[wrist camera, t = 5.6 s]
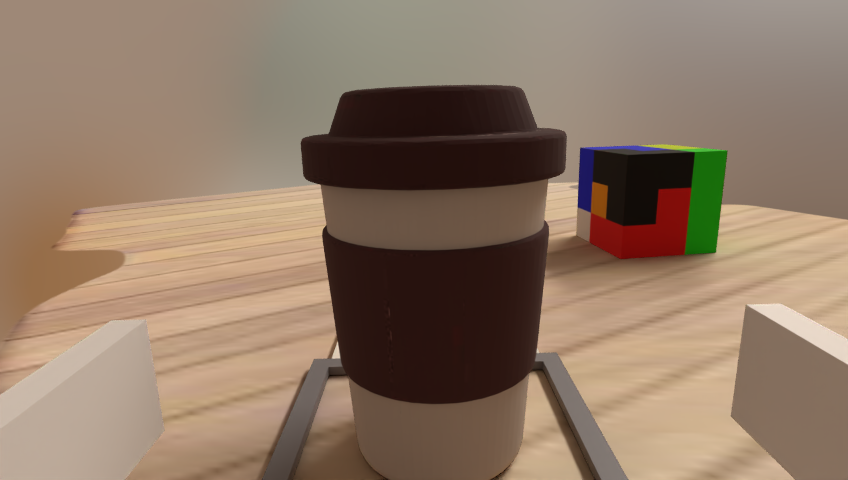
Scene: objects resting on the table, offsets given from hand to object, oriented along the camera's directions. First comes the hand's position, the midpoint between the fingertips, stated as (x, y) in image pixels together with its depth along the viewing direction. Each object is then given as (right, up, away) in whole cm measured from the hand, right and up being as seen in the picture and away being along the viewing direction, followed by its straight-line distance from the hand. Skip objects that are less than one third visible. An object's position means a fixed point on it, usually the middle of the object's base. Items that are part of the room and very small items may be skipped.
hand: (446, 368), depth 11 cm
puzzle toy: (+23, +2, +43) cm, 49 cm away
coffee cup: (0, -6, +12) cm, 13 cm away
